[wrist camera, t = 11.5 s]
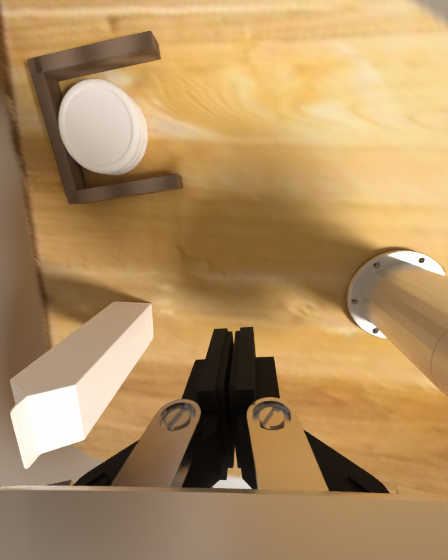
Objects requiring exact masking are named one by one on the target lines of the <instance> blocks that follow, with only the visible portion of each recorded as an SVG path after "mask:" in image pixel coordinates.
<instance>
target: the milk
mask: <svg viewBox="0 0 448 560" xmlns="http://www.w3.org/2000/svg"><path fill="white" fill-rule="evenodd" d="M152 339H153V320H152V304H151V303H139V302H120V301H114V302H112V303H111V304H110V305H108V306H107V307H106V308H104V309H103V310H102V311H101V312H99V313H98V314H97V315H95V316H94V317H93V318H91V319H90V320H89V321H87V322H86V323H85V324H83V325H82V326H81V327H79V328H78V329H77V330H75V331H74V332H73V333H71V334H70V335H69V336H67V337H66V338H65V339H63V340H62V341H61V342H59V343H58V344H57V345H56V346H54V347H53V348H52V349H50V350H49V351H48V352H46V353H45V354H44V355H42V356H41V357H40V358H38V359H37V360H36V361H34V362H33V363H32V364H30V365H29V366H28V367H27V368H25V369H24V370H22V371H21V372H20V373H18V374H17V375H16V376H14V377H13V378H12V379H11V380H10V383H11V387H12V391H13V395H14V399H15V403H16V405H15V406H14V407H13V409H12V410H11V413H10V415H11V419H12V423H13V427H14V431H15V434H16V438H17V442H18V446H19V450H20V454H21V457H22V462H23V465H24V468H25V469H26V468H29V467H30V465H31V464H32V463H33V462H34V461H35V460H36V458H37V457H38V456H39V455H40V454H42V453H44V452H48V451H51V450H54V449H57V448H60V447H63V446H66V445H70V444H73V443H76V442H79V441H82V440H84V439H85V438H86V436H87V435H88V433H89V432H90V430H91V429H92V427H93V426H94V424H95V423H96V421H97V420H98V419H99V417H100V416H101V414H102V413H103V411H104V410H105V408H106V407H107V405H108V404H109V402H110V401H111V399H112V398H113V397H114V395H115V394H116V392H117V391H118V389H119V388H120V386H121V385H122V383H123V382H124V380H125V379H126V377H127V376H128V375H129V373H130V372H131V370H132V369H133V367H134V366H135V364H136V363H137V361H138V360H139V358H140V357H141V355H142V354H143V353H144V351H145V350H146V348H147V347H148V345H149V344H150V342H151V341H152Z"/></svg>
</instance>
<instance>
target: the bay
mask: <svg viewBox="0 0 448 560" xmlns="http://www.w3.org/2000/svg"><path fill="white" fill-rule="evenodd" d="M159 59H161V57H160V51H159V46H158V43H157V41H156V39H155V37H154V35H153V34H152V32H151V31H147V32H143V33H138V34H134V35H130V36H125V37H121V38H117V39H112V40H108V41H104V42H100V43H95V44H91V45H87V46H82V47H78V48H74V49H69V50H65V51H61V52H56V53H52V54H48V55H44V56H39V57H35V58H31V59H27V61H28V65H29V68H30V72H31V75H32V79H33V82H34V85H35V89H36V92H37V96H38V99H39V103H40V106H41V110H42V113H43V117H44V120H45V123H46V127H47V130H48V134H49V137H50V141H51V144H52V148H53V151H54V154H55V158H56V161H57V165H58V168H59V172H60V175H61V179H62V182H63V186H64V189H65V192H66V196H67V199H68V203H69V204H84V203H91V202H97V201H103V200H110V199H116V198H123V197H129V196H135V195H142V194H148V193H155V192H161V191H167V190H174V189H180V188H183V184H182V178H181V176H180V175H177V174H174V175H168V176H162V177H156V178H150V179H144V180H138V181H132V182H125V183H119V184H113V185H107V186H101V187H95V188H89V189H87V188H86V184H85V180H84V177H83V173H82V169H81V165H80V164H79V163H78V162H76V161H75V160H74V159H73V157H72V156H71V155H70V154H69V152H68V151H67V149H66V147H65V146H64V143H63V141H62V139H61V135H60V131H59V122H58V117H59V109H60V105H61V102H62V100H63V98H62V94H61V91H60V87H59V83H58V81H62V80H67V79H72V78H76V77H81V76H85V75H90V74H95V73H99V72H104V71H108V70H113V69H117V68H122V67H127V66H131V65H136V64H140V63H145V62H150V61H154V60H159Z"/></svg>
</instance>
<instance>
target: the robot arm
mask: <svg viewBox="0 0 448 560" xmlns="http://www.w3.org/2000/svg"><path fill="white" fill-rule="evenodd" d="M418 259H419V260H418ZM374 263H375V265H374V266H373V264H374ZM353 299H354V300H353ZM352 300H353V301H352ZM347 307H348V311H349V313H350V315H351V317H352V319H353V320H354V321H355V323H356V324H357V325H358V326H359V327H360V328H361V329H363V330H364V331H365V332H367V333H369V334H371V335H373V336H376V337H380V338H387V339H388V340H389V341H391V342H392V343H393V344H394V345H395V346H396V347H397V348H398V349H399V350H400V351H401V352H402V353H403V354H404V355H405V356H406V357H407V358H408V359H409V360H410V361H411V362H412V363H413V364H414V365H415V366H416V367H417V368H418V369H419V370H420V371H421V372H422V373H423V374H424V375H425V376H426V377H427V378H428V379H429V380H430V381H431V382H432V383H433V384H434V385H435V386H437V387H438V388H439V389H440V390H441V391H442V392H443V393H444V394H445V395H446V396H447V397H448V277H447V276H445V273H444V271H443V270H442V268H441V266H440V265H439V264H438V263H437V262H436V261H435V260H433V259H432V258H430V257H428V256H427V255H424V254H421V253H418V252H414V251H410V250H395V251H389V252H386V253H382V254H380V255H378V256H376V257H374V258H372V259H370V260H369V261H368V262H366V263H365V264H364V265H363V266H362V267H361V268H360V269H359V270H358V271H357V272H356V274H355V275H354V276H353V278H352V280H351V282H350V284H349V287H348V291H347ZM235 449H236V457H237V465H238V468H241V471H242V478H243V480H244V481H245V482H247V484H248V485H249V486H250V487H251V488H252V489H226V488H225V489H224V488H213V485H214V484H216V482H218V481H219V480H227V470H228V468H233V466H234V452H235ZM0 560H448V497H444V496H440V495H436V494H431V493H427V492H422V491H418V490H414V489H409V488H405V487H401V486H397V491H395V490H391V489H386V487H385V486H384V485H383V484H382V483H381V482H380V481H378V480H377V479H376V478H375V477H374V476H372V475H371V474H369V473H368V472H366V471H365V470H363V469H362V468H360V467H359V466H357V465H356V464H354V463H353V462H351V461H350V460H348V459H347V458H345V457H344V456H342V455H341V454H339V453H338V452H336V451H335V450H333V449H332V448H330V447H329V446H327V445H326V444H324V443H323V442H321V441H320V440H318V439H317V438H315V437H314V436H312V435H311V434H309V433H308V432H306V431H305V430H303V428H302V425H301V423H300V421H299V418H298V416H297V413H296V411H295V410H294V408H293V406H292V405H290V404H289V403H288V402H287V401H284V400H282V399H280V396H279V389H278V382H277V375H276V368H275V362H274V357H256V354H255V343H254V331H253V327H242V328H240V331H236V332H235V341H234V343H233V334H232V331H230V332H228V330H227V328H224V329H214V331H213V335H212V338H211V342H210V345H209V348H208V352H207V355H206V359H203V360H196V361H195V362H194V365H193V368H192V371H191V374H190V377H189V379H188V382H187V385H186V388H185V391H184V394H183V396H182V399H179V400H174V401H172V402H169V403H167V404H166V405H164V406H163V407H162V408H160V410H159V411H158V412H157V413H156V415H155V416H154V418H153V419H152V421H151V422H150V424H149V426H148V427H147V429H146V430H145V432H144V433H143V435H142V437H141V438H140V439H139V440H138V441H136V442H135V443H133V444H132V445H130V446H128V447H127V448H125V449H124V450H122V451H121V452H119V453H117V454H116V455H114V456H113V457H111V458H110V459H108V460H106V461H105V462H103V463H102V464H100V465H98V466H97V467H95V468H94V469H92V470H91V471H89V472H88V473H86V474H85V475H84V476H82V477H81V478H80V479H79V480H78V481H77V482H76V483H75V484H73V482H72V480H68V481H63V482H59V483H54V484H49V485H45V486H8V487H7V486H6V487H0Z"/></svg>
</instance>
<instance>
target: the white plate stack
mask: <svg viewBox="0 0 448 560" xmlns="http://www.w3.org/2000/svg"><path fill="white" fill-rule="evenodd" d="M58 122H59V131H60V135H61V139H62V141H63V143H64V146H65V147H66V149H67V151H68V152H69V154H70V155H71V156H72V157H73V159H74V160H75V161H76V162H78V163H79V164H80V165H81V166H83V167H84V168H86V169H88V170H90V171H93V172H96V173H101V174H106V175H121V174H124V173H127V172H129V171H131V170H132V169H134V168H135V167H136V166H137V165H138V164H139V163H140V161H141V160H142V158H143V156H144V154H145V151H146V148H147V142H148V131H147V125H146V121H145V118H144V115H143V113H142V111H141V109H140V108H139V106H138V105H137V103H136V102H135V101H134V100H133V99H132V98H131V97H130V96H129V95H128V94H127V93H125V92H124V91H123V90H122V89H121V88H120V87H118V86H117V85H115V84H113V83H111V82H109V81H106V80H102V79H87V80H83V81H80V82H78V83H77V84H75V85H74V86H72V87H71V88H70V89H69V90H68V91H67V93H66V94H65V96H64V98H63V100H62V102H61V105H60V109H59V117H58Z"/></svg>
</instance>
